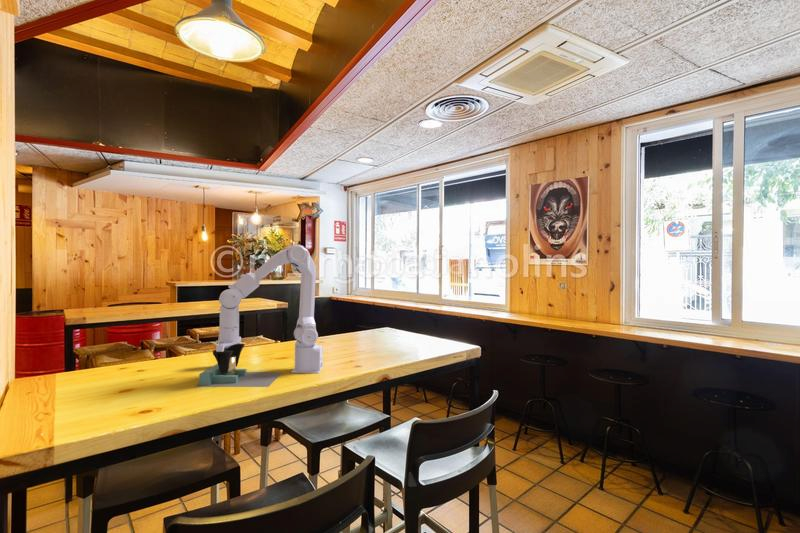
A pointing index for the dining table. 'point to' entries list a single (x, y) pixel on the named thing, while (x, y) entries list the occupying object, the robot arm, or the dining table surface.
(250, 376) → the mat
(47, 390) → the dining table surface
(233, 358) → the brass tube
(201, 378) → the socket dock
